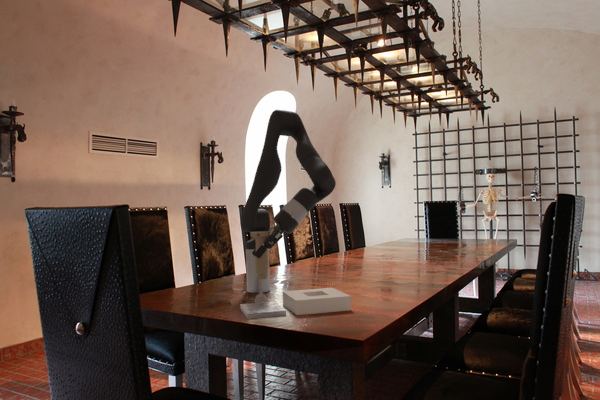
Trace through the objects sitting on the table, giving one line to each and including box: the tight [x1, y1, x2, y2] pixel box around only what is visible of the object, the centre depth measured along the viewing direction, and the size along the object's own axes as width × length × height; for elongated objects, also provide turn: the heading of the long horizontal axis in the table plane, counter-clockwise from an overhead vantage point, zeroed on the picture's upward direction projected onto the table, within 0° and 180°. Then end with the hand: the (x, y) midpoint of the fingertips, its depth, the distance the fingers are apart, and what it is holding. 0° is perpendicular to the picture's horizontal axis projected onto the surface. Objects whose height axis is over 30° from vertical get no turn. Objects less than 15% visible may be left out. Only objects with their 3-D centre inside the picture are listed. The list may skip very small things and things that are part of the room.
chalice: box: [250, 249, 270, 303], centre depth 172 cm, size 7×7×18 cm
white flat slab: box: [239, 300, 287, 320], centre depth 154 cm, size 16×12×2 cm
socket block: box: [282, 287, 352, 316], centre depth 159 cm, size 18×18×4 cm
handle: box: [249, 231, 270, 279], centre depth 154 cm, size 5×6×15 cm
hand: (255, 255), depth 153 cm, fingers closed on handle, 3 cm apart
